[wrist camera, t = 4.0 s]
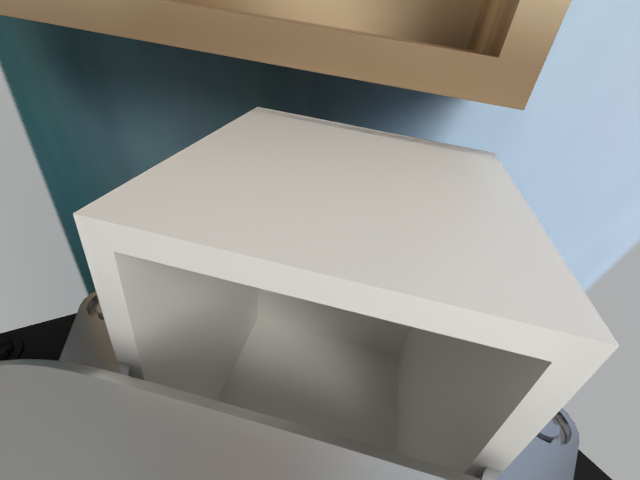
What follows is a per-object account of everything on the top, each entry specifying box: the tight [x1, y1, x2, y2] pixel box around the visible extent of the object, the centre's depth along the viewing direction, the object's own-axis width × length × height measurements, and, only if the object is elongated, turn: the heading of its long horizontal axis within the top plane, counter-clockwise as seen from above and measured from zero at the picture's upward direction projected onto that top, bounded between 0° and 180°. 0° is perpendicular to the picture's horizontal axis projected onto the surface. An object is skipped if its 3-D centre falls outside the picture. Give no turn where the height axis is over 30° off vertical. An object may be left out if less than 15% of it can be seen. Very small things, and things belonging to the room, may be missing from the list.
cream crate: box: [73, 107, 619, 477], centre depth 10 cm, size 9×7×7 cm
